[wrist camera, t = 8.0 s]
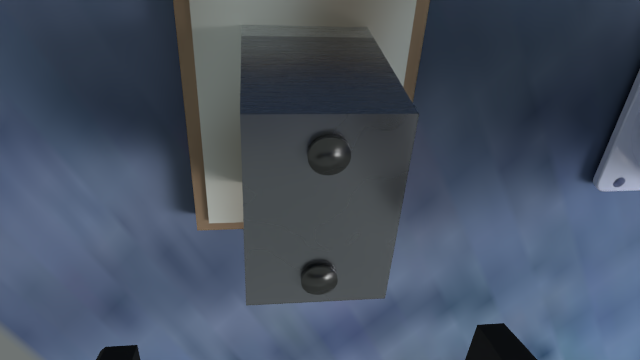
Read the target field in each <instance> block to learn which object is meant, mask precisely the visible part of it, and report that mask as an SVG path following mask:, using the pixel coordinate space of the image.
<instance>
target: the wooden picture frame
mask: <svg viewBox="0 0 640 360" xmlns="http://www.w3.org/2000/svg"><path fill="white" fill-rule="evenodd" d="M429 3H430V0H173V4H174V14H175V23H176V33H177V42H178V51H179V61H180V70H181V80H182V89H183V99H184V108H185V117H186V127H187V136H188V146H189V155H190V164H191V174H192V183H193V193H194V202H195V212H196V221H197V230H222V229H244V222H243V191H242V160H241V130H240V81H241V25H279V26H331V27H368V29H369V30H370V32H371V34H372V36H373V37H374V39H375V41H376V42H377V44H378V46H379V47H380V49H381V51H382V52H383V54H384V56H385V57H386V59H387V61H388V62H389V64H390V66H391V68H392V69H393V71H394V73H395V74H396V76H397V78H398V79H399V81H400V83H401V84H402V86H403V88H404V89H405V91H406V93H407V94H408V96H409V98H410V100H411V101H412V103H413V98H414V92H415V86H416V80H417V74H418V68H419V62H420V56H421V50H422V45H423V39H424V33H425V27H426V21H427V15H428V9H429Z"/></svg>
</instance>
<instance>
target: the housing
mask: <svg viewBox="0 0 640 360" xmlns="http://www.w3.org/2000/svg"><path fill="white" fill-rule="evenodd" d="M418 117H419V113H418V111H417V110H416V108H415V106H414V105H413V103H412V101H411V100H410V98H409V96H408V94H407V93H406V91H405V89H404V88H403V86H402V84H401V83H400V81H399V79H398V78H397V76H396V74H395V73H394V71H393V69H392V68H391V66H390V64H389V62H388V61H387V59H386V57H385V56H384V54H383V52H382V51H381V49H380V47H379V46H378V44H377V42H376V41H375V39H374V37H373V36H372V34H371V32H370V30H369V29H368V27H331V26H279V25H241V81H240V130H241V160H242V191H243V222H244V253H245V284H246V305H264V304H283V303H303V302H322V301H342V300H362V299H381V298H385V295H386V290H387V284H388V279H389V273H390V268H391V262H392V257H393V252H394V246H395V241H396V235H397V230H398V225H399V219H400V214H401V208H402V203H403V198H404V192H405V187H406V181H407V176H408V171H409V165H410V160H411V154H412V149H413V144H414V138H415V133H416V127H417V122H418Z"/></svg>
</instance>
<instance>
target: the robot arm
mask: <svg viewBox="0 0 640 360" xmlns="http://www.w3.org/2000/svg"><path fill="white" fill-rule="evenodd" d="M616 179H618V180H616ZM615 180H616V181H615ZM614 181H615V182H614ZM593 184H594V186H595V187H596V188H597V189H598V190H600V191H634V190H640V70H639V72H638V75H637V77H636V79H635V82H634V84H633V86H632V89H631V91H630V93H629V96H628V98H627V100H626V103H625V105H624V108H623V110H622V112H621V115H620V117H619V119H618V122H617V124H616V126H615V129H614V131H613V133H612V136H611V138H610V141H609V143H608V145H607V148H606V150H605V152H604V155H603V157H602V159H601V162H600V164H599V167H598V169H597V171H596V174H595V176H594V178H593ZM96 360H140V356H139V351H138V347H137V345H130V346H113V347H105V348H104V349H102V350H101V351H100V353H99V355H98V357H97V359H96ZM465 360H537V359H536V358H535V357H534V356H533V355H532V354H531V352H530V351H529V350H528V349H527V348H526V347H525V346H524V345H523V344H522V343H521V342H520V340H519V339H518V338H517V337H516V336H515V335H514V334H513V333H512V332H511V331H510V330H509V329H508V327H507V326H506V325H505V324H504V323H502V324H485V325H477V328H476V331H475V333H474V336H473V339H472V342H471V345H470V348H469V351H468V353H467V356H466V359H465Z"/></svg>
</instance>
